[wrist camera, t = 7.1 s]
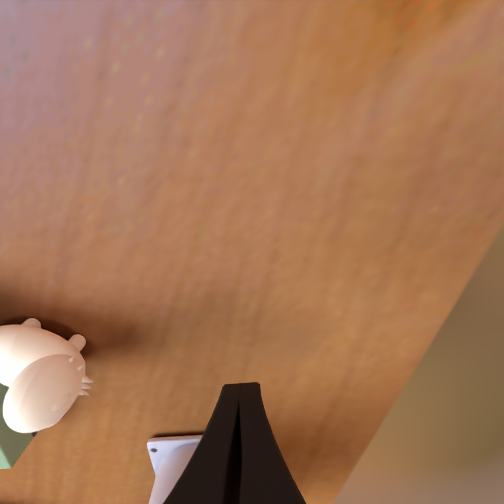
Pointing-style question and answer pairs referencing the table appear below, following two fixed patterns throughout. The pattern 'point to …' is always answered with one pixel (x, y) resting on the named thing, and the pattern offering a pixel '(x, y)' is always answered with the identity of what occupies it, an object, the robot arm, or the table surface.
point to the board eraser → (10, 438)
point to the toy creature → (39, 375)
